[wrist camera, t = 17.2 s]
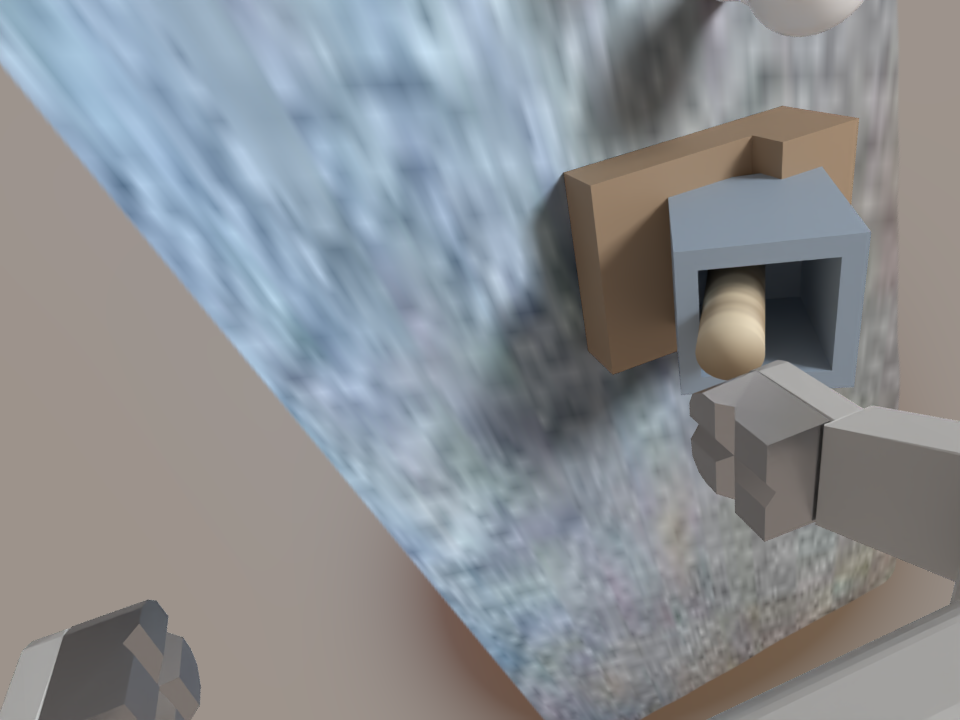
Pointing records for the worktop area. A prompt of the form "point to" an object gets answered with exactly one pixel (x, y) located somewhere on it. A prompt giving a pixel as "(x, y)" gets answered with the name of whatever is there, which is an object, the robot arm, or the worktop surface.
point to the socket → (725, 242)
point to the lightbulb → (801, 14)
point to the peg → (732, 322)
